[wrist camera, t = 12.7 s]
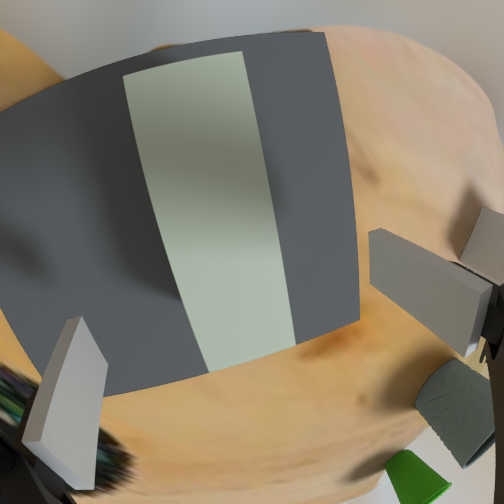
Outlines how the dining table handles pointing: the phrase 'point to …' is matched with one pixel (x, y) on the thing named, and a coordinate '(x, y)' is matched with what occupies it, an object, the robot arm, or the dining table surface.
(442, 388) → the blue-grey tumbler
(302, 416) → the dining table surface
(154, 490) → the dining table surface
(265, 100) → the mat
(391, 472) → the cup
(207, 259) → the sage block
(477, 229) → the small light-grey cube
